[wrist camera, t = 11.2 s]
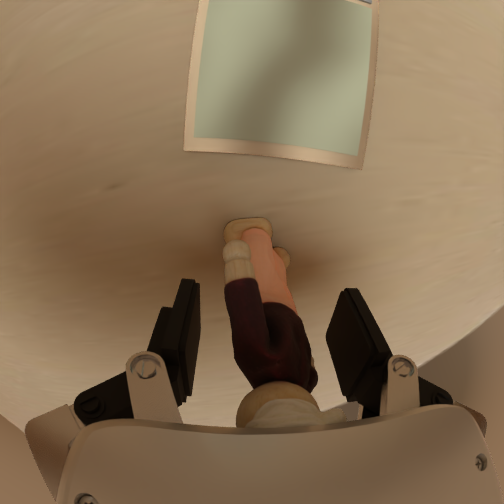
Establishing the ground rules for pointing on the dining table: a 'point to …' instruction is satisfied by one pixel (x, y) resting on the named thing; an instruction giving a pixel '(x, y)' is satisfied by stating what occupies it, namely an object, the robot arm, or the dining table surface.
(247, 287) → the grandmother figurine
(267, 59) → the board
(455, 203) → the dining table surface
